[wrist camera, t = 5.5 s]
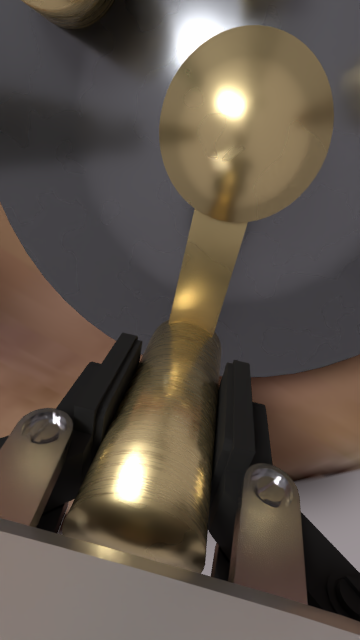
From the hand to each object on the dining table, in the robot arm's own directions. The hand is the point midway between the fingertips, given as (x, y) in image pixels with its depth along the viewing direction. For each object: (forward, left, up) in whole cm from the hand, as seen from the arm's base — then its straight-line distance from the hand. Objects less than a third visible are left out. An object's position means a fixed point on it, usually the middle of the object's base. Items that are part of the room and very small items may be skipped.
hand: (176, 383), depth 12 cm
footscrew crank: (-4, -2, -4) cm, 6 cm away
